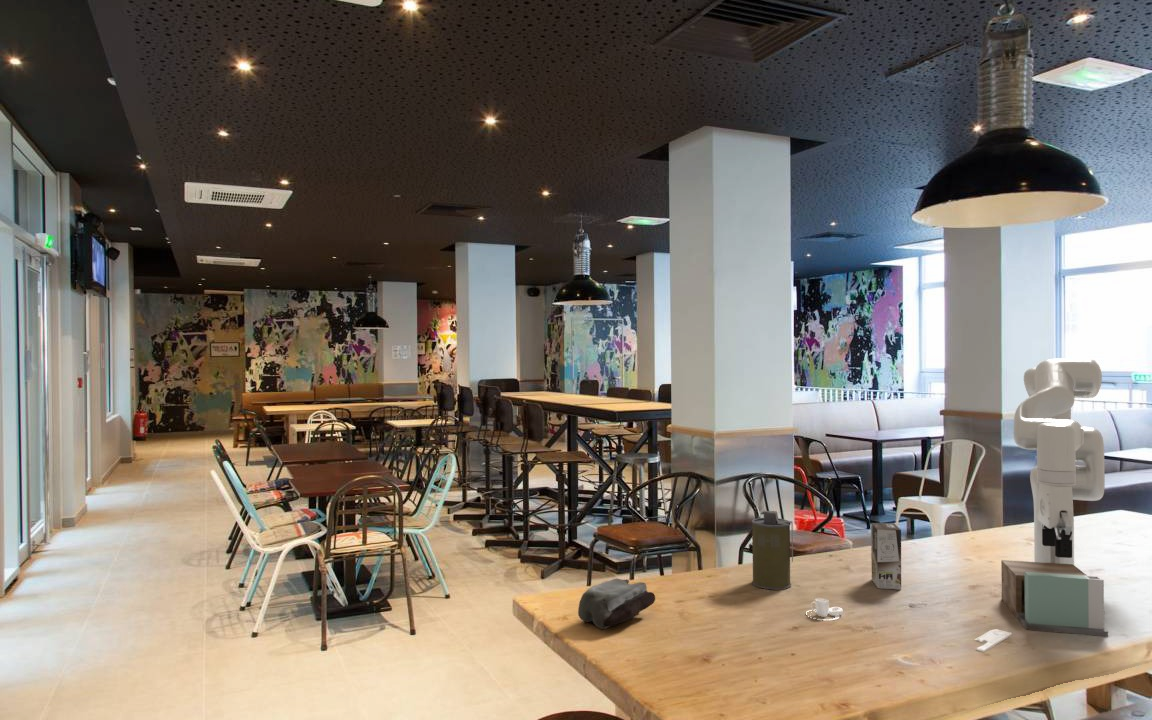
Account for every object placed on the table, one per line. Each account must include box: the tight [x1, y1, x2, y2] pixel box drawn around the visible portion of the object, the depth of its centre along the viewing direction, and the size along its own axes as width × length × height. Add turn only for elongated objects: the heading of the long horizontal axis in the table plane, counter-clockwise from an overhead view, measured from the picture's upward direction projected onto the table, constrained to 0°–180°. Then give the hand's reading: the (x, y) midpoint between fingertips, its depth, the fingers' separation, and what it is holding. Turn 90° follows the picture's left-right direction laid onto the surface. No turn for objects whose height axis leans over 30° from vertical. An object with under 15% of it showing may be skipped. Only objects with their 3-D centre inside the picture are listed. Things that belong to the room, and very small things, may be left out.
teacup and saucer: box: [805, 597, 844, 622], centre depth 185 cm, size 9×8×4 cm
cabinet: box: [1000, 559, 1109, 637], centre depth 183 cm, size 23×16×10 cm
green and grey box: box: [1025, 572, 1105, 629], centre depth 175 cm, size 3×15×11 cm, turn 74°
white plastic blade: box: [973, 628, 1013, 653], centre depth 168 cm, size 5×15×1 cm, turn 130°
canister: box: [751, 510, 794, 591], centre depth 210 cm, size 11×10×20 cm
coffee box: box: [870, 522, 902, 590], centre depth 210 cm, size 9×6×16 cm
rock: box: [577, 578, 656, 630], centre depth 182 cm, size 20×12×8 cm, turn 143°
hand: (1056, 551), depth 175 cm, fingers open, 9 cm apart
